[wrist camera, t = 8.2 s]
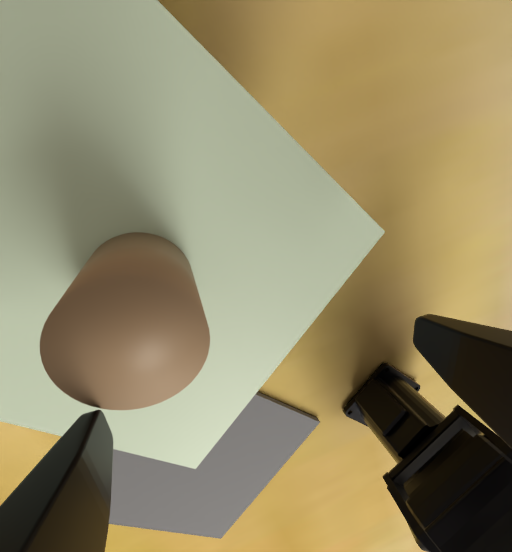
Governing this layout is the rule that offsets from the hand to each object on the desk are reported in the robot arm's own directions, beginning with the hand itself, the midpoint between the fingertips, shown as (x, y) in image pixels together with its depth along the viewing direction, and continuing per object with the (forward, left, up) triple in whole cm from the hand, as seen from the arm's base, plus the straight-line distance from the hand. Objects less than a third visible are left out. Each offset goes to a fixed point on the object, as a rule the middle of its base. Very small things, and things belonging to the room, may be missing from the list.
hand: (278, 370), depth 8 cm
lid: (+4, +1, -5) cm, 6 cm away
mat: (-10, +16, -13) cm, 23 cm away
